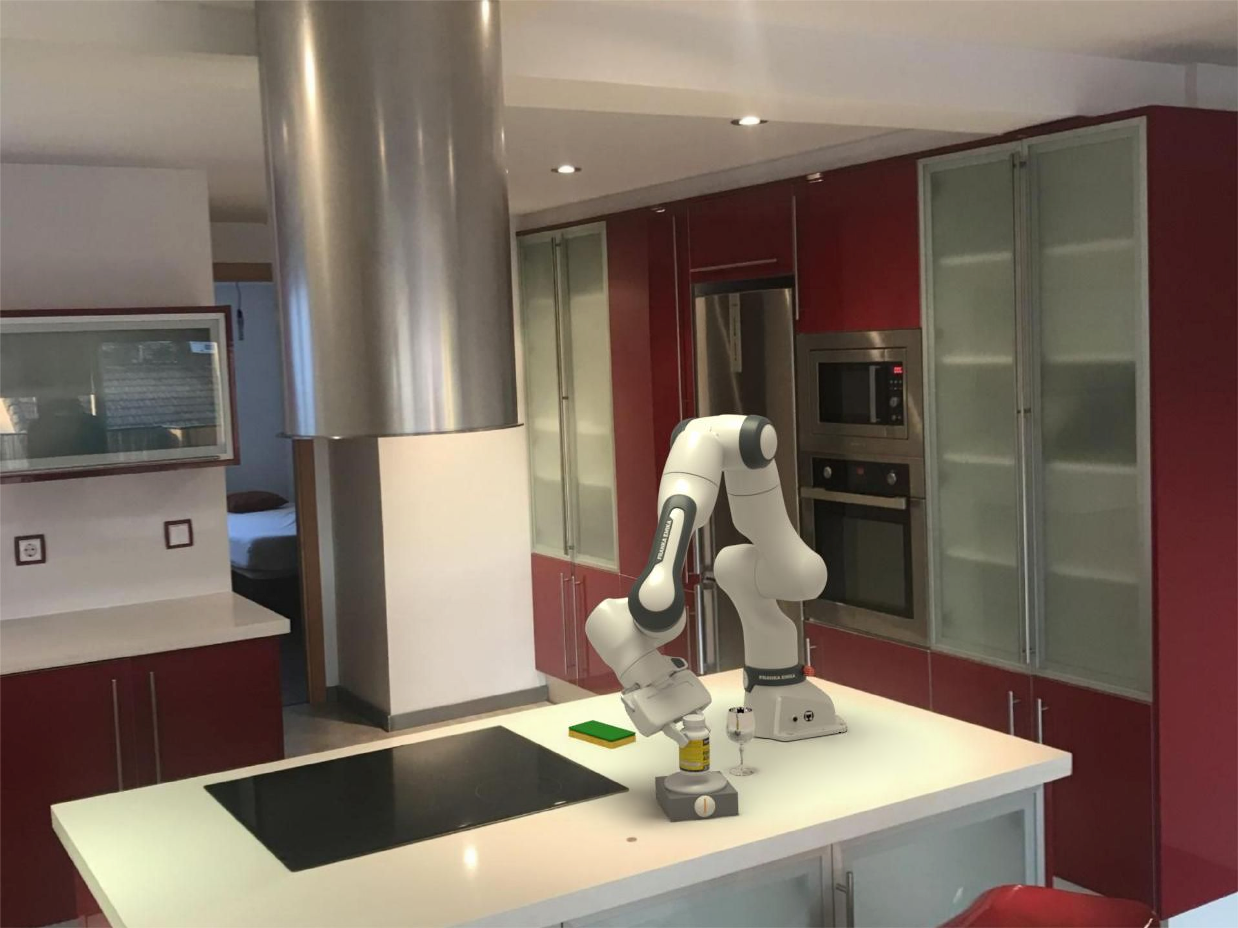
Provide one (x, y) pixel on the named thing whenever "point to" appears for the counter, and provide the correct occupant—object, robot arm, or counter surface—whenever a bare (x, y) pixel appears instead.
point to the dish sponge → (602, 734)
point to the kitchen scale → (696, 796)
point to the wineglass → (741, 732)
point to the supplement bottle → (695, 747)
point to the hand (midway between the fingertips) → (697, 739)
